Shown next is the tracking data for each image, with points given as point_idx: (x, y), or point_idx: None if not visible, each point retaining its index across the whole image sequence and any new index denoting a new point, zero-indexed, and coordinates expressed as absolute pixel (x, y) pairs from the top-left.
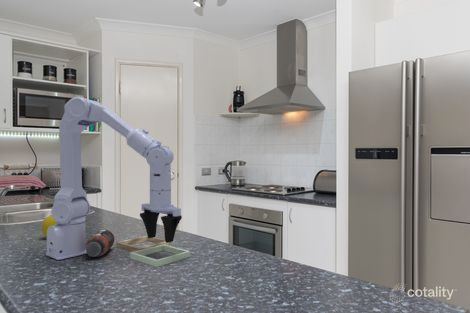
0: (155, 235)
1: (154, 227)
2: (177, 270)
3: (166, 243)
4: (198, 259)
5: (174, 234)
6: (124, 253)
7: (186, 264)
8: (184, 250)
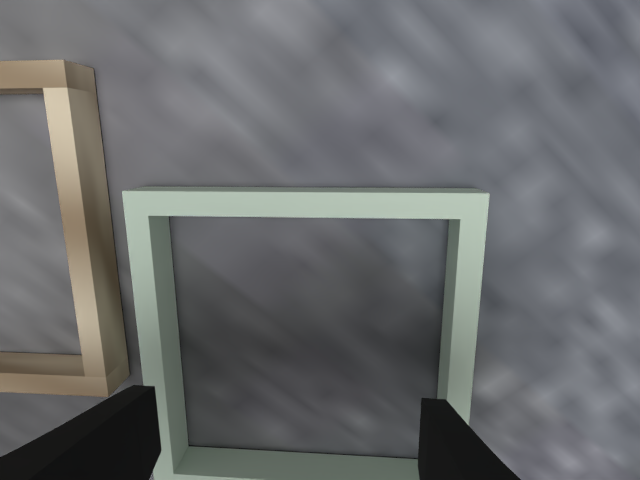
0: (147, 392)
1: (87, 467)
2: (612, 447)
3: (79, 119)
4: (580, 197)
5: (480, 441)
6: (48, 417)
7: (580, 335)
8: (426, 210)
